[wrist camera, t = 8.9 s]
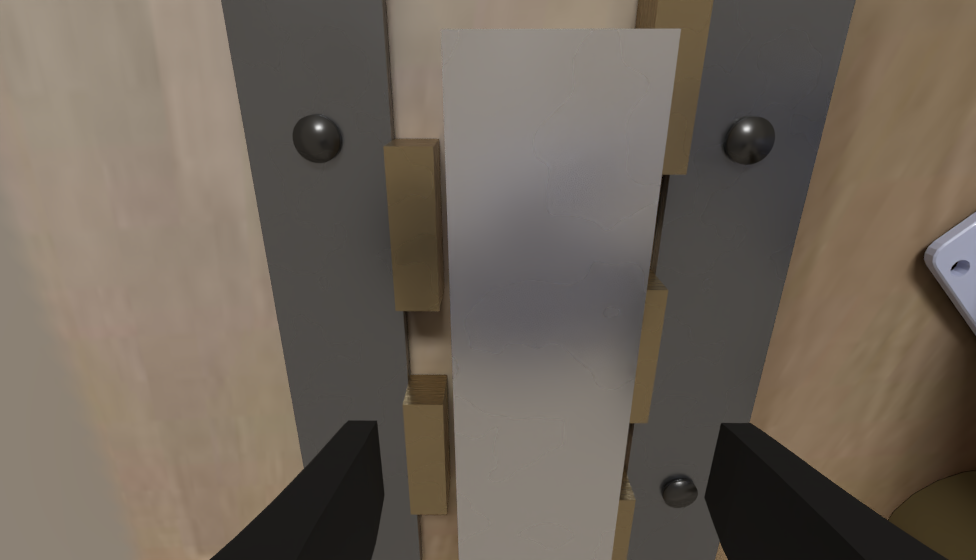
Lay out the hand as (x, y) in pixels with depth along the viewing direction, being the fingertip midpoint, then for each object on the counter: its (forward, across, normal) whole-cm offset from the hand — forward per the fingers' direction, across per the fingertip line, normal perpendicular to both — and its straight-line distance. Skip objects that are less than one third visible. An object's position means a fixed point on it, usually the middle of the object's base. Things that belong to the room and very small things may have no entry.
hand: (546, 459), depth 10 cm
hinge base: (+6, 0, 0) cm, 6 cm away
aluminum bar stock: (+6, 0, 0) cm, 6 cm away
